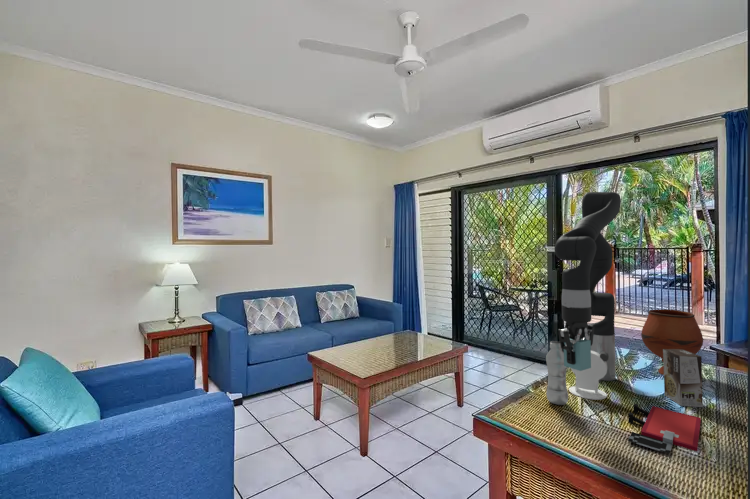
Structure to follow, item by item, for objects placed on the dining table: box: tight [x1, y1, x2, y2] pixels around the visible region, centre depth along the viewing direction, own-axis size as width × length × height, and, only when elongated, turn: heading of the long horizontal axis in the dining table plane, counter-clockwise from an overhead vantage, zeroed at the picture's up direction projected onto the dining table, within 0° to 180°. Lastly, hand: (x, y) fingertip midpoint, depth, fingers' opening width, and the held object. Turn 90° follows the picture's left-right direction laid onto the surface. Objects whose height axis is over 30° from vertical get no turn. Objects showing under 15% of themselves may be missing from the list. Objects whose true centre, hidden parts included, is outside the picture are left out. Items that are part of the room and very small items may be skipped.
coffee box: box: [662, 349, 704, 408], centre depth 116 cm, size 9×6×16 cm
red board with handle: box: [627, 403, 702, 455], centre depth 98 cm, size 30×3×15 cm
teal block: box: [563, 339, 591, 371], centre depth 104 cm, size 5×5×8 cm
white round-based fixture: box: [568, 351, 609, 401], centre depth 124 cm, size 12×11×15 cm
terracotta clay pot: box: [640, 309, 704, 376], centre depth 141 cm, size 19×19×25 cm
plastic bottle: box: [545, 340, 569, 406], centre depth 116 cm, size 6×7×20 cm
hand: (577, 361), depth 104 cm, fingers closed on teal block, 5 cm apart
